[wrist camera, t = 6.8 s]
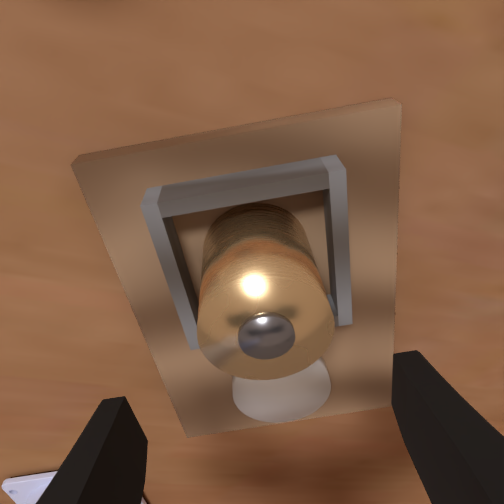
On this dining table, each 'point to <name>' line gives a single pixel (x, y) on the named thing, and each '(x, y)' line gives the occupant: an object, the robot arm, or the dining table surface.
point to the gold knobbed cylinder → (261, 295)
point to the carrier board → (276, 193)
